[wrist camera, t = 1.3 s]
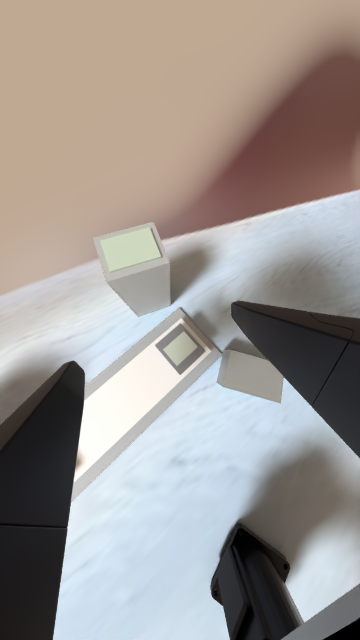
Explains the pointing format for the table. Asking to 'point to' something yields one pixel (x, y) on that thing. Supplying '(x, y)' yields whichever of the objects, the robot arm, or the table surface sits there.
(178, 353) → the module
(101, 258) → the panel
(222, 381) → the block
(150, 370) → the rail
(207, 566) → the table surface
